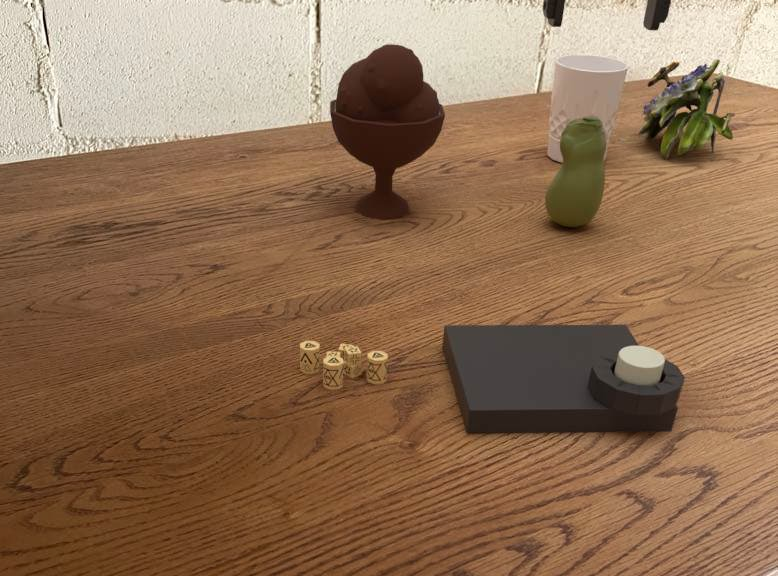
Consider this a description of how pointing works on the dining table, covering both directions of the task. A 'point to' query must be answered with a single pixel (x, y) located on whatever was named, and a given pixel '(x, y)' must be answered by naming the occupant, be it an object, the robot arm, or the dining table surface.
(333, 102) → the ice cream bowl
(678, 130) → the passion flower
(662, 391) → the scale
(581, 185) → the pear
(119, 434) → the dining table surface
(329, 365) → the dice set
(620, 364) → the button
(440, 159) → the dining table surface
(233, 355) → the dining table surface
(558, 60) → the white cup
